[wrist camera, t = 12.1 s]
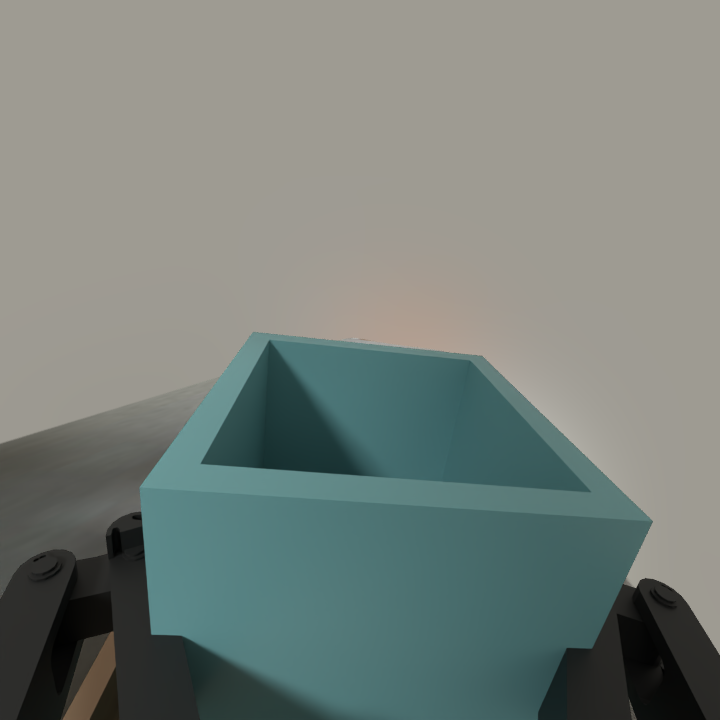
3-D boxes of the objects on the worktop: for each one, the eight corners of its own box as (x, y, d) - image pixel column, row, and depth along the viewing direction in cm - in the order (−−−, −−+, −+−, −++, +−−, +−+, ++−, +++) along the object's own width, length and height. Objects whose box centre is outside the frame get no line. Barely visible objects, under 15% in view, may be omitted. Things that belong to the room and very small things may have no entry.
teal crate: (168, 845, 11) (139, 487, 7) (245, 558, 21) (253, 332, 16) (500, 839, 12) (652, 521, 8) (429, 567, 21) (482, 355, 17)
